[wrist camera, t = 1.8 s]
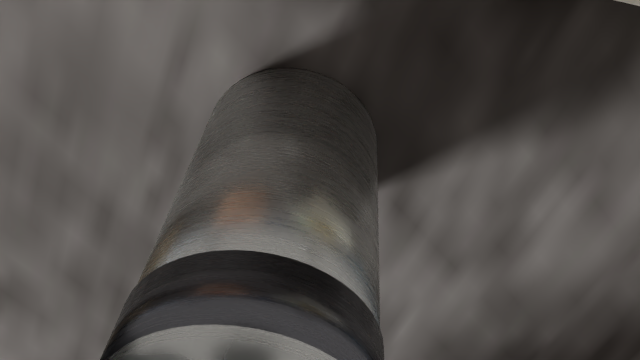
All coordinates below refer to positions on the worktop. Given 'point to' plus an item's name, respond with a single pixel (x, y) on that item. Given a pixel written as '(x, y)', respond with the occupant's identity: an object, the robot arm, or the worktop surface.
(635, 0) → the white decorated slab
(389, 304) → the worktop surface
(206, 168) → the glass salt shaker
